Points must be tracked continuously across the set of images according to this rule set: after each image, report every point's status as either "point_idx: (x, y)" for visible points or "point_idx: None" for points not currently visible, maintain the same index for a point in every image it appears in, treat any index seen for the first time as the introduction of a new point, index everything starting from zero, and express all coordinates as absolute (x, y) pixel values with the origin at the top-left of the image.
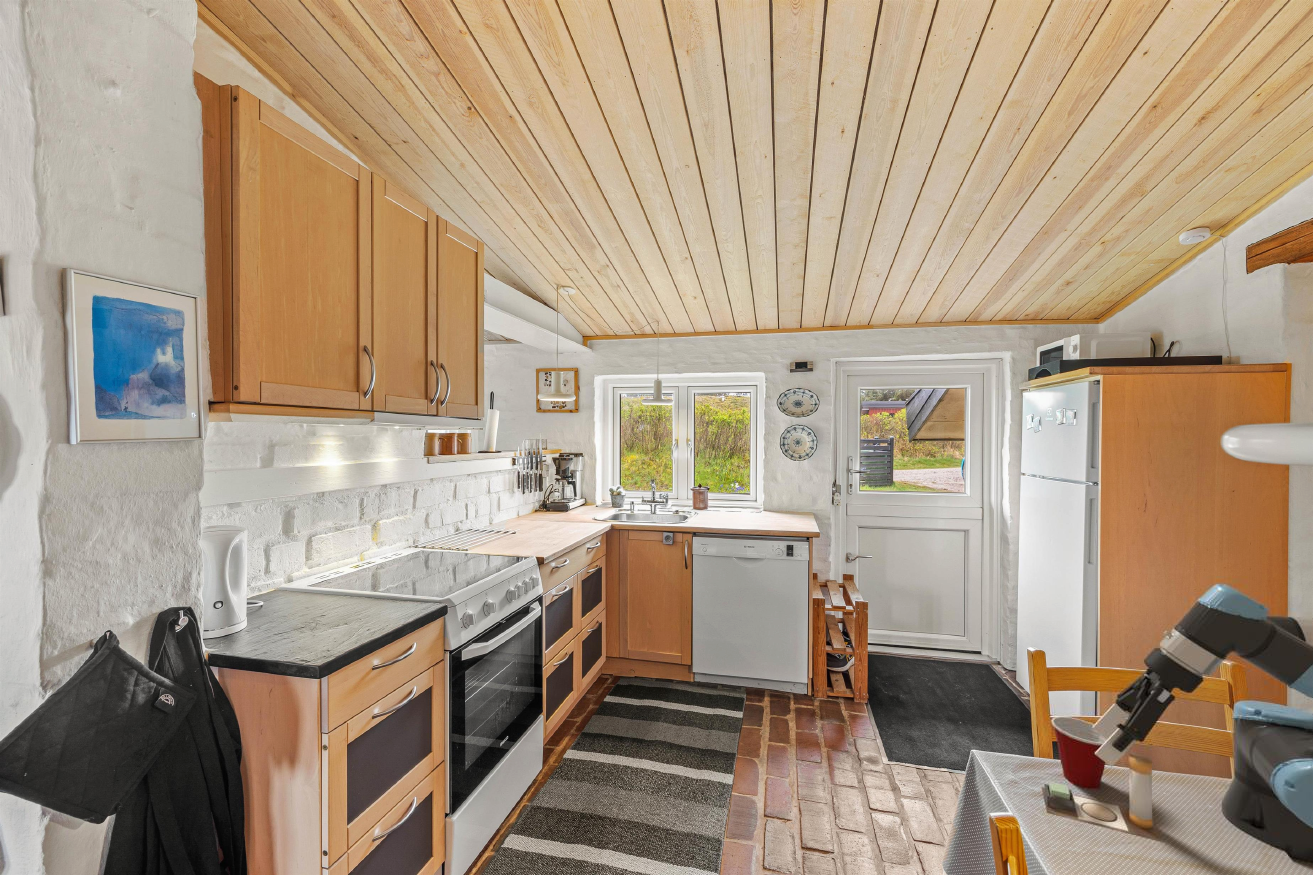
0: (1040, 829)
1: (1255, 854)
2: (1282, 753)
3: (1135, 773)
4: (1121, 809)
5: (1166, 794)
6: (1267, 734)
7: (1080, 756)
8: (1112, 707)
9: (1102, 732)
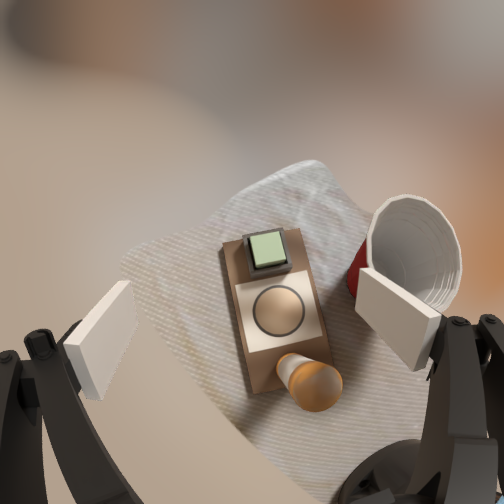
0: (184, 241)
1: (319, 477)
2: None
3: (290, 374)
4: (315, 340)
5: (416, 382)
6: None
7: (360, 265)
8: (418, 312)
9: (360, 295)
